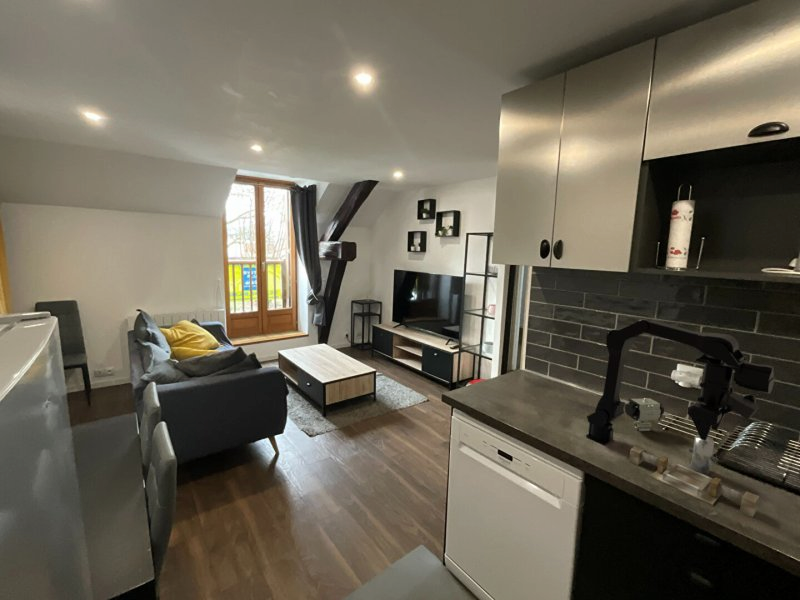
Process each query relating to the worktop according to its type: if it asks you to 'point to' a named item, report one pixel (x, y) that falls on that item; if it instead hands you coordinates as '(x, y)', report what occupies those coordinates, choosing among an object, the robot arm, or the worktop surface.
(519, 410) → the worktop surface
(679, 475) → the shaft rig
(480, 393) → the worktop surface
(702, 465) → the ujoint coupling
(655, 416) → the pneumatic valve
